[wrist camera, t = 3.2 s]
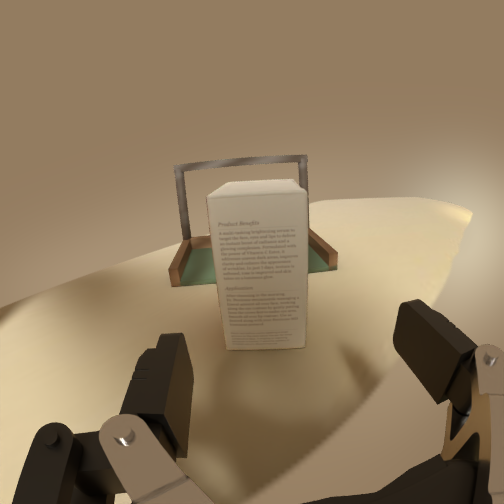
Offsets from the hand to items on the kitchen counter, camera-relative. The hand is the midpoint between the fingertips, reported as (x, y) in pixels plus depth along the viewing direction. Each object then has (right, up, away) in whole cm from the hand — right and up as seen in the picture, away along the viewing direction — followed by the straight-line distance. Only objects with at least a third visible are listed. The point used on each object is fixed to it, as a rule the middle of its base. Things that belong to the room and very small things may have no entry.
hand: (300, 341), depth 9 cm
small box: (-1, -3, +12) cm, 13 cm away
